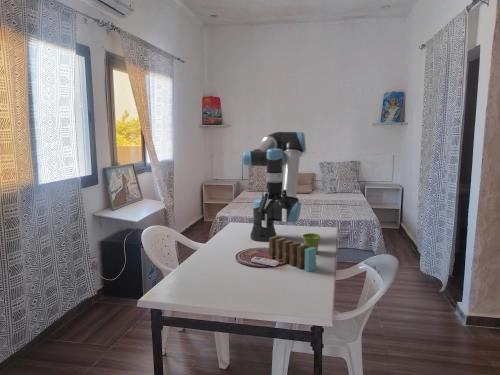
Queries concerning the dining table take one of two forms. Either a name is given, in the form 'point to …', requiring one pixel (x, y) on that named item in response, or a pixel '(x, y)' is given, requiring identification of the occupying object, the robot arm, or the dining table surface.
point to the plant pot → (311, 240)
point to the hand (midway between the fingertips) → (274, 224)
